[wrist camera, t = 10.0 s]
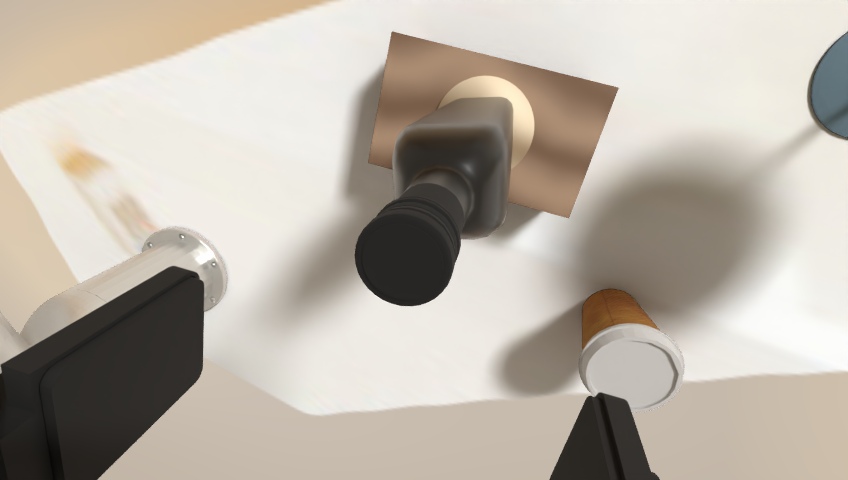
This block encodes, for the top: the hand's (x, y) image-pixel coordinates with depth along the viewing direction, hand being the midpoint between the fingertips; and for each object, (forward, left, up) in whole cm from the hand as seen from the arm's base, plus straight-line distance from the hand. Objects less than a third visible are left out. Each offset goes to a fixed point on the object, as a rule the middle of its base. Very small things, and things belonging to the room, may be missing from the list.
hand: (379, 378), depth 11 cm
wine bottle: (+1, 0, -34) cm, 34 cm away
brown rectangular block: (+1, 0, -42) cm, 42 cm away
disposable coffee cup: (-17, -20, -42) cm, 49 cm away
